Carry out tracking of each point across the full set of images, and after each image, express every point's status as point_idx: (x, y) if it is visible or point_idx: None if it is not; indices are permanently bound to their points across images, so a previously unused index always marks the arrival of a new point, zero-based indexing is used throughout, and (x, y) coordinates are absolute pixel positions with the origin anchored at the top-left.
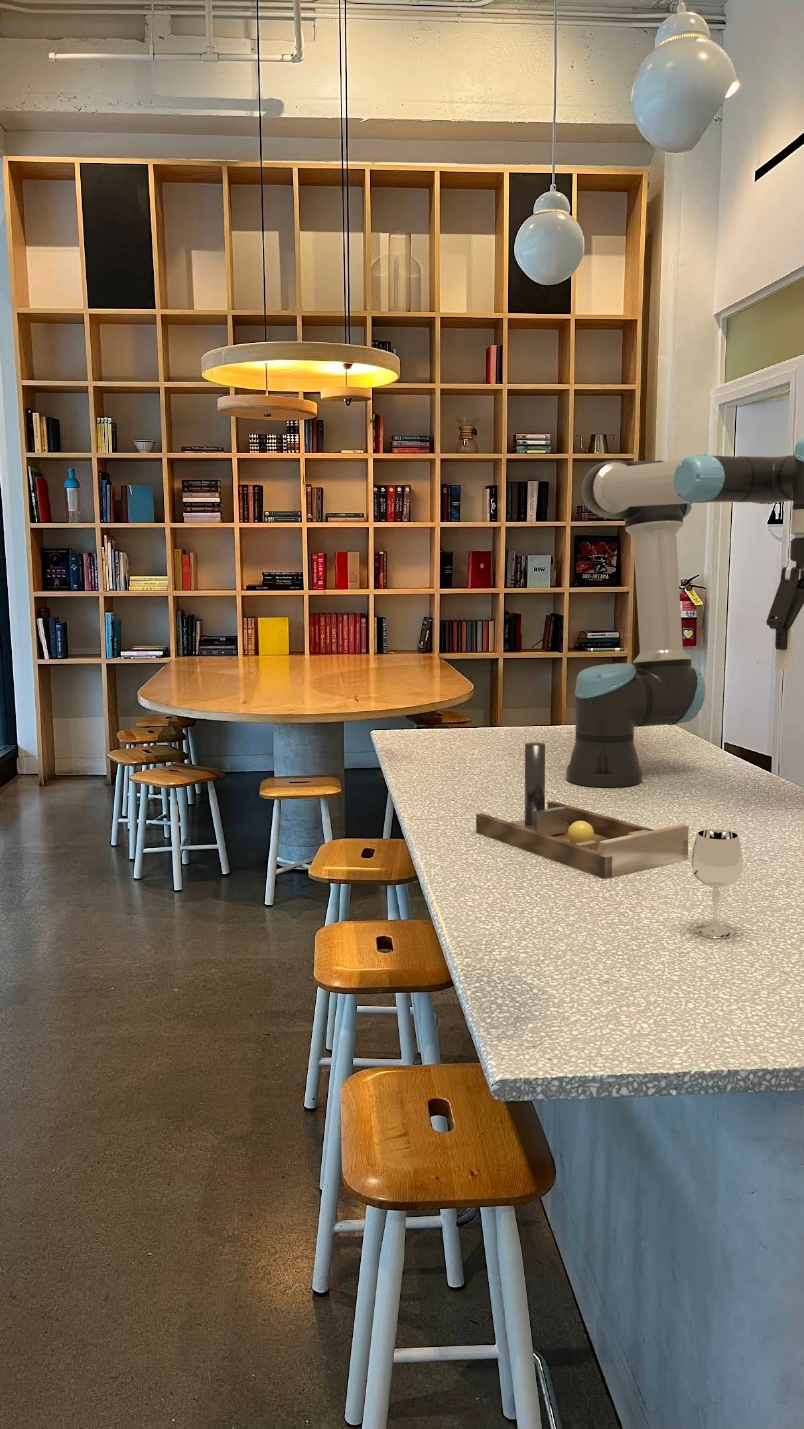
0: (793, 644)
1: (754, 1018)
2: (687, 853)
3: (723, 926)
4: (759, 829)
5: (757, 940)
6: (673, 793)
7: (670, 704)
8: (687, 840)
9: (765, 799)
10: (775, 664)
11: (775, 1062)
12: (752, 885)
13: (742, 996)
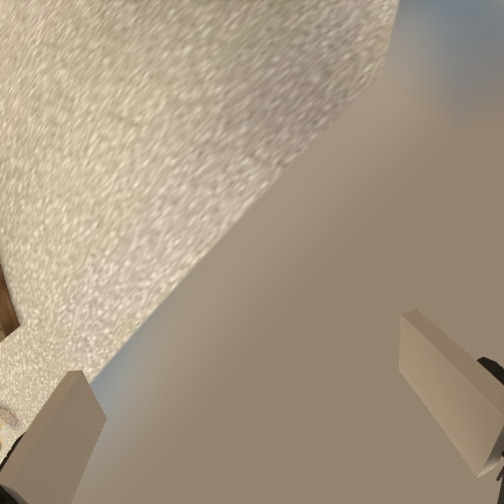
0: (77, 486)
1: None
2: (12, 331)
3: (11, 417)
4: (156, 244)
5: None
6: (194, 19)
7: None
8: (5, 337)
9: (294, 104)
10: (60, 382)
11: None
12: (49, 383)
13: (6, 454)
